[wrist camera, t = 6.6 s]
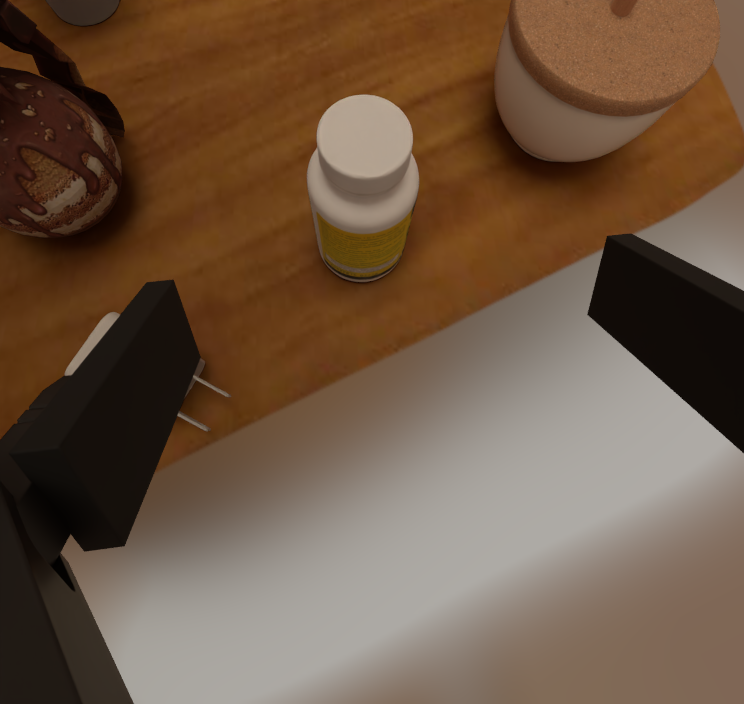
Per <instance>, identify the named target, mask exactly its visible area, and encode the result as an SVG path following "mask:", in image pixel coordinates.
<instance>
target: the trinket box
mask: <svg viewBox="0 0 744 704" xmlns="http://www.w3.org/2000/svg"><path fill="white" fill-rule="evenodd" d="M719 39H720V22H719V16H718V10H717V7H716V5H715V2H714V0H511V3H510V8H509V14H508V17H507V20H506V23H505V26H504V29H503V33H502V36H501V39H500V43H499V48H498V52H497V58H496V66H495V75H494V88H495V100H496V104H497V108H498V111H499V114H500V117H501V119H502V122H503V124H504V125H505V127H506V129H507V130H508V132H509V133H510V134H511V136H512V138H513V139H514V141H515V142H516V143H517V145H518V146H519V147H520V148H521V149H523V150H524V151H525V152H527V153H528V154H530V155H531V156H533V157H536V158H538V159H541V160H545V161H552V162H579V161H586V160H590V159H594V158H598V157H601V156H603V155H606V154H608V153H610V152H612V151H615V150H617V149H619V148H621V147H622V146H624V145H625V144H627V143H628V142H630V141H631V140H633V139H634V138H636V137H637V136H639V135H640V134H641V133H643V132H644V131H645V130H646V129H648V128H649V127H650V126H651V125H652V124H654V123H655V122H656V121H657V120H658V119H659V118H660V117H661V116H662V115H663V114H664V113H665V112H666V111H667V110H668V109H669V108H670V107H671V106H672V105H673V104H674V103H675V102H676V101H677V100H679V99H680V98H682V97H683V96H684V95H685V94H686V93H687V92H688V91H689V90H690V89H691V88H692V87H693V86H694V85H695V84H696V83H697V82H698V81H699V80H700V79H701V78H702V77H703V76H704V75H705V73H706V72H707V70H708V69H709V68H710V66H711V65H712V62H713V60H714V57H715V55H716V53H717V48H718V44H719Z"/></svg>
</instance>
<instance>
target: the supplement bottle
mask: <svg viewBox="0 0 744 704" xmlns="http://www.w3.org/2000/svg"><path fill="white" fill-rule="evenodd" d="M412 145H413V134H412V129H411V125H410V123H409V121H408V119H407V117H406V116H405V114H404V113H403V112H402V111H401V110H400V109H399V108H398V107H397V106H396V105H394V104H393V103H392V102H390V101H388V100H386V99H384V98H381V97H377V96H373V95H355V96H350V97H347V98H344V99H342V100H340V101H338V102H336V103H335V104H333V105H332V106H331V107H330V108H329V109H328V110H327V111H326V112H325V113H324V115H323V116H322V118H321V120H320V122H319V125H318V129H317V149H316V150H315V152H314V153H313V155H312V157H311V160H310V162H309V166H308V171H307V186H308V195H309V199H310V205H311V210H312V215H313V220H314V226H315V231H316V237H317V243H318V247H319V251H320V254H321V257H322V259H323V261H324V262H325V264H326V265H327V266H328V268H329V269H330V270H331V271H333V272H334V273H335V274H337V275H338V276H340V277H342V278H344V279H346V280H350V281H354V282H369V281H373V280H376V279H379V278H381V277H383V276H385V275H386V274H388V273H389V272H390V271H391V270H392V269H393V268H394V267H395V266H396V265H397V263H398V262H399V260H400V258H401V256H402V253H403V250H404V246H405V243H406V239H407V235H408V230H409V227H410V223H411V219H412V214H413V211H414V207H415V203H416V199H417V194H418V188H419V173H418V168H417V164H416V161H415V159H414V157H413V155H412V153H411V151H412Z"/></svg>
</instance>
